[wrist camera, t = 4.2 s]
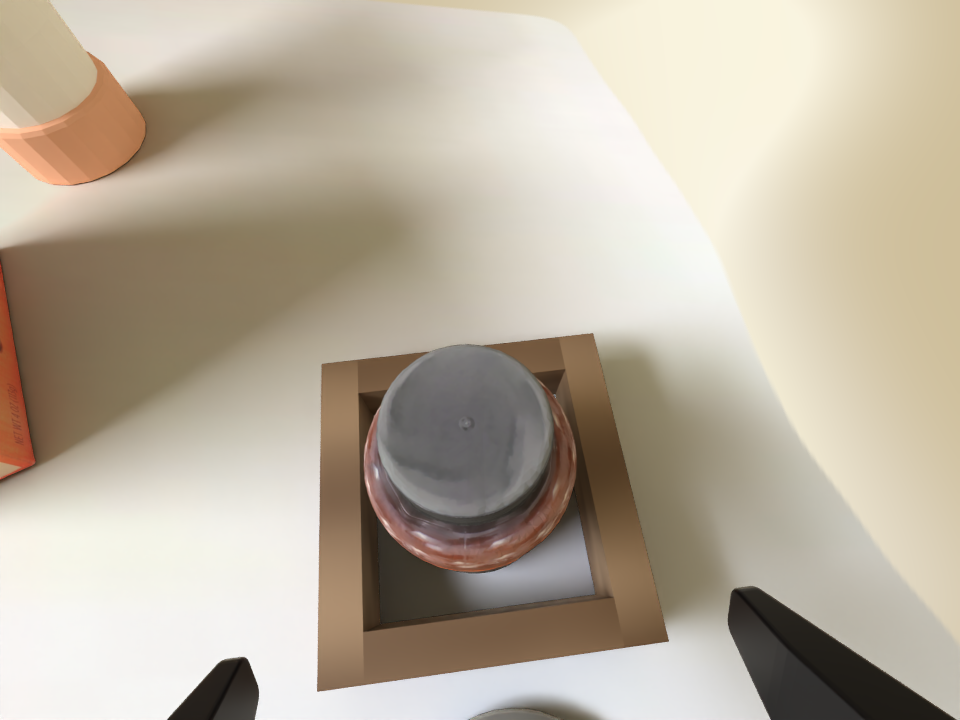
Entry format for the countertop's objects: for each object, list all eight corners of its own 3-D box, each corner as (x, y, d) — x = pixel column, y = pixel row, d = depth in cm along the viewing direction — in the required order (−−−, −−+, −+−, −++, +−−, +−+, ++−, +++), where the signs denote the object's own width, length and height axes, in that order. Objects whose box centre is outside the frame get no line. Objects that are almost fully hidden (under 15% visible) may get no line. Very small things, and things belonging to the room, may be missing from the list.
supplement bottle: (531, 423, 22) (573, 290, 12) (557, 561, 20) (640, 546, 9) (402, 441, 22) (330, 321, 12) (413, 583, 19) (333, 593, 9)
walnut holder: (641, 631, 19) (668, 641, 16) (342, 674, 18) (317, 691, 15) (580, 361, 23) (592, 333, 21) (340, 389, 23) (321, 364, 20)
